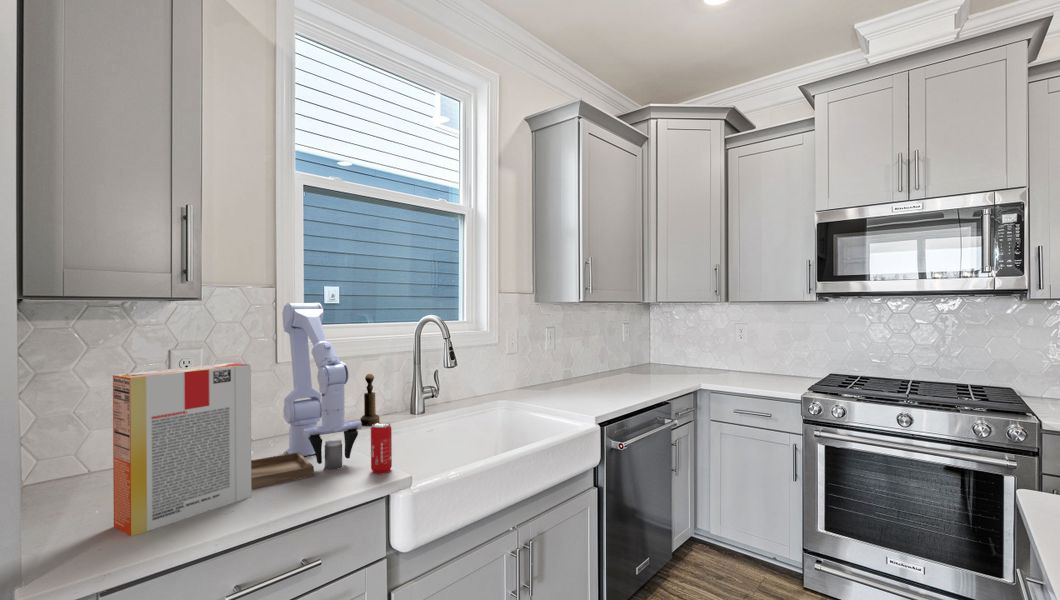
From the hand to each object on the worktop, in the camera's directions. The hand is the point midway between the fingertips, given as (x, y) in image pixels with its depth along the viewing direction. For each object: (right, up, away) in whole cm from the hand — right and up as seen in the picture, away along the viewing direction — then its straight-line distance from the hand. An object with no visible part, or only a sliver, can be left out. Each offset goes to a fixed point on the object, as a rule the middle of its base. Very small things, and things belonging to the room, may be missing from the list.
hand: (333, 460), depth 136 cm
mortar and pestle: (-6, -2, +49) cm, 50 cm away
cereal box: (-20, -2, -28) cm, 35 cm away
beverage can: (+14, -2, -3) cm, 14 cm away
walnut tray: (-14, -2, -5) cm, 15 cm away
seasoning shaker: (0, -2, 0) cm, 2 cm away
